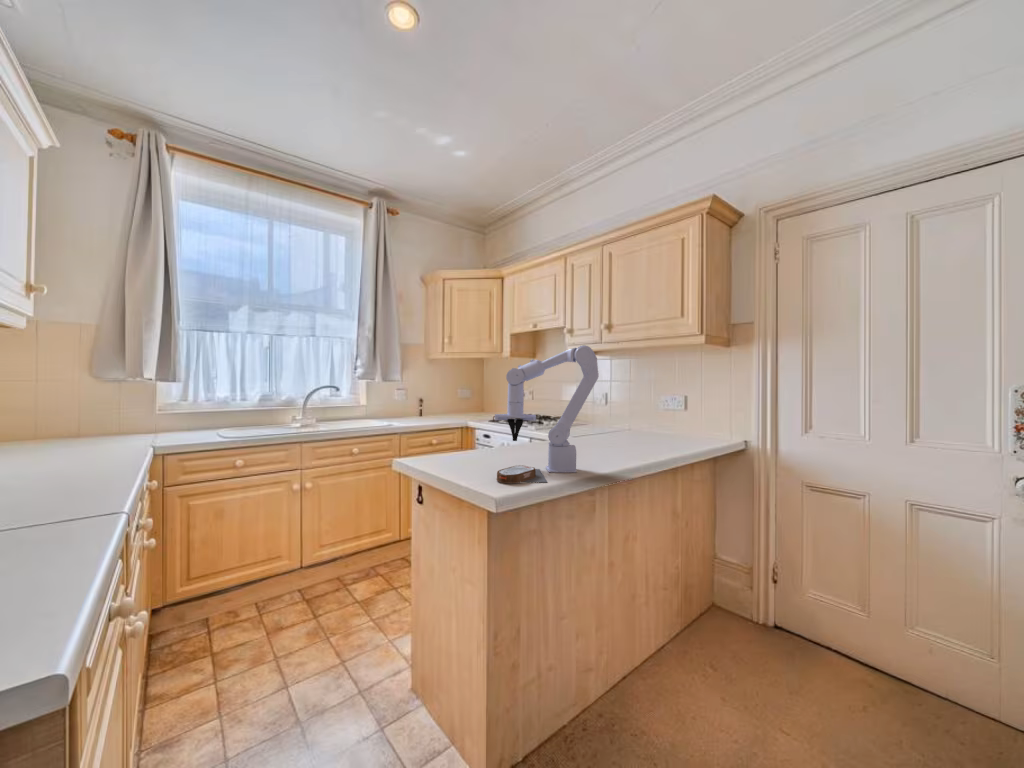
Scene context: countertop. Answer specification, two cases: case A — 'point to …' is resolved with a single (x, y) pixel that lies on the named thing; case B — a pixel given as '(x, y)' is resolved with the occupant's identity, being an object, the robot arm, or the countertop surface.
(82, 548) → the countertop surface
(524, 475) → the tin
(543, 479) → the mat
